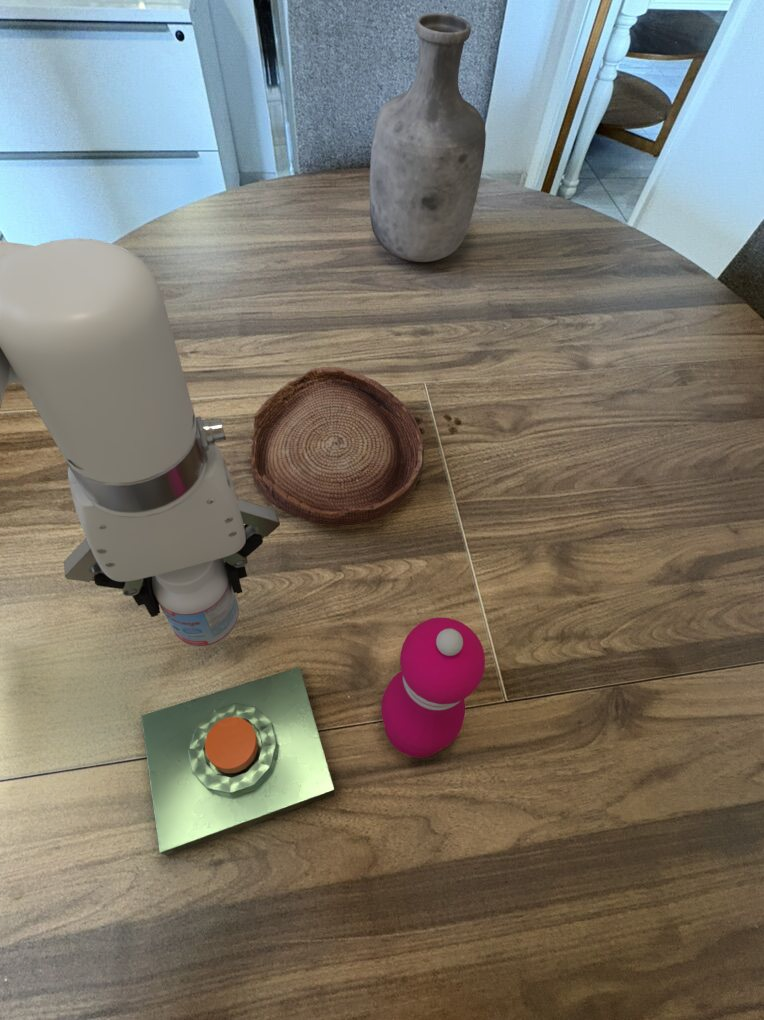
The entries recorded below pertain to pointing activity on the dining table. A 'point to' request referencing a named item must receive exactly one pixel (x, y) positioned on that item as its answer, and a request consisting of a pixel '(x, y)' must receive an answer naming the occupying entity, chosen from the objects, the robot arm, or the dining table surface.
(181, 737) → the green button base
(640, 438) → the dining table surface
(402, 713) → the pepper mill
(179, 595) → the pill bottle
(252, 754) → the button
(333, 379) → the basket
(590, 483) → the dining table surface
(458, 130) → the vase
